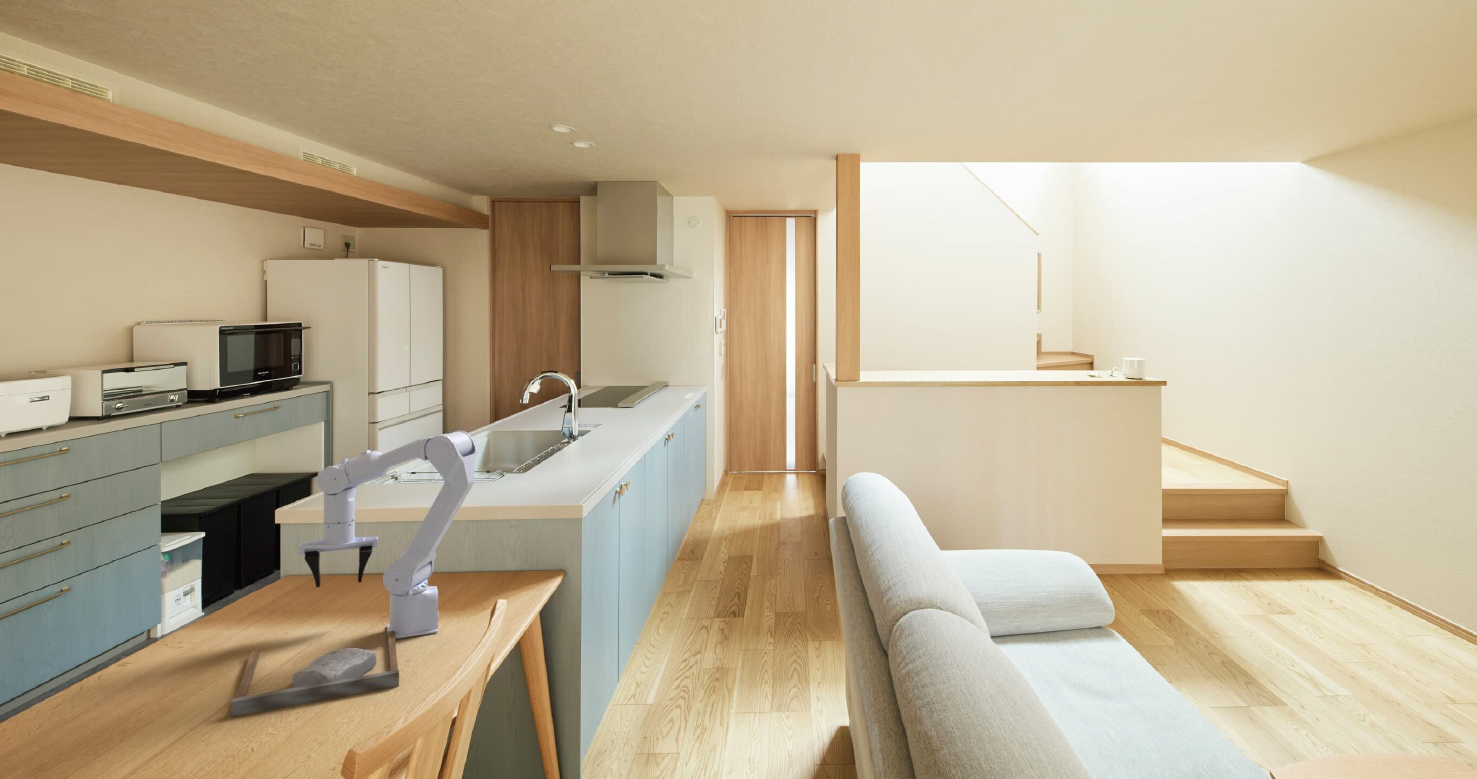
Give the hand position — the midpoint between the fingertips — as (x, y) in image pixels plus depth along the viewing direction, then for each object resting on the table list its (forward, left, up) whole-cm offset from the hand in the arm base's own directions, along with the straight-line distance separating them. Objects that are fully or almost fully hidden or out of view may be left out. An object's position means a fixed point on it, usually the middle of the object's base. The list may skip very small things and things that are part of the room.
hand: (339, 583), depth 146 cm
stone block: (0, +25, -10) cm, 27 cm away
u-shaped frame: (+2, +21, -9) cm, 23 cm away
